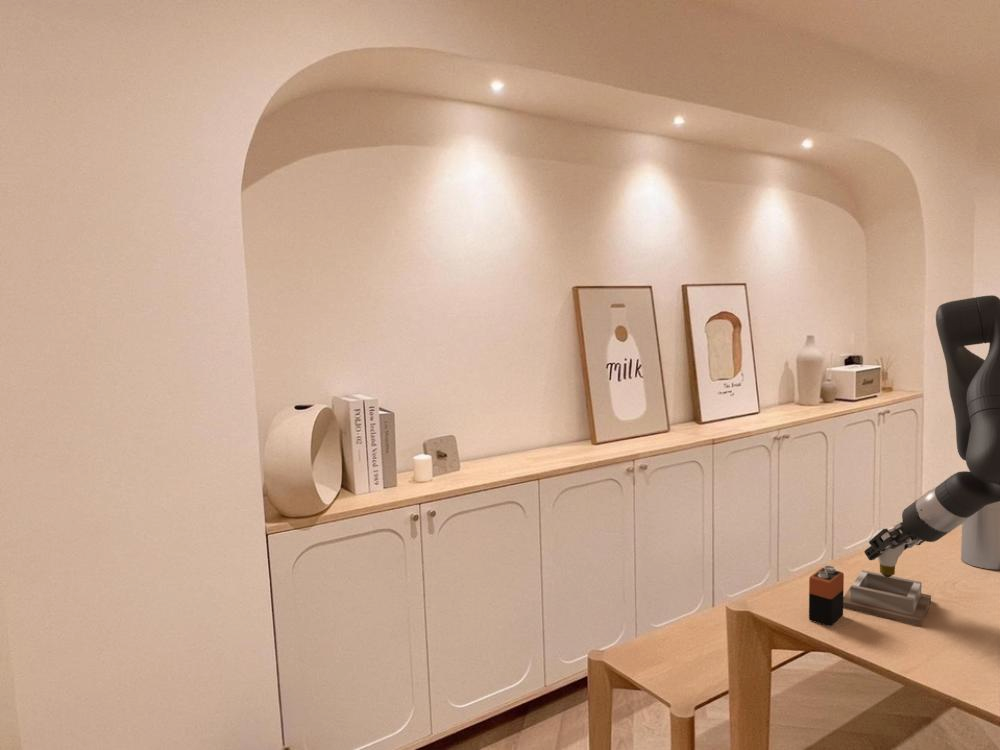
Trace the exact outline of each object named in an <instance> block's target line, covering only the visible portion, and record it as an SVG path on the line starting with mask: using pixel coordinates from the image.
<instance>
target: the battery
mask: <svg viewBox="0 0 1000 750" xmlns="http://www.w3.org/2000/svg"><path fill="white" fill-rule="evenodd" d="M808 580H809V581H808V619H809V621H811V622H814V621H815V622H814V623H817V622H818V624H820V623H821V625H823V624H824V626H826V627H827V626H828V627H832V626H833V625H834V624H835V623H836V622H837V621H838V620H840V619H841V618H842V617H843V616H844V608H843V597H844V592H845V591H844V589H845V588H844V587H845V586H844V585H845V583H844V580H845V576H844V572H842V571H840V570H839V571H838V570H836V567H835V566H832V565H824V566H823V567H821V568H820V569H818V570H817V571H816V572H815V571H814V573H812V574H811V575H810V576H809V579H808Z"/></svg>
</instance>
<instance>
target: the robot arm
mask: <svg viewBox="0 0 1000 750" xmlns="http://www.w3.org/2000/svg"><path fill="white" fill-rule="evenodd" d="M935 324H936V325H935V326H936V331H937V335H938V338H939V341H940V345H941V348H942V353H943V357H944V360H945V365H946V374H947V383H948V390H949V396H950V399H951V404H952V409H953V414H954V419H955V436H956V440H955V441H956V449H957V453H958V455H959V457H960V458H961V459H962V460H963V461H965V463H966V466H967V469H968V470H969V471H968V470H967V471H966V470H965V471H964V470H963V471H958V472H956V473H953V474H952V475H950V476H949V477H948V478H946V479H945V480H944V481H942V482H941V483H939V485H937V486H935V487H933V488H932V489H930V490H928V491H927V492H925V493H924V494H923V495H922V496H920V497H919V498H917V499H916V500H914V502H912V503H911V504H910V505H908V506H906V508H904V509H903V511H902V513H901V518H902V519H901V520H902V521H901V522H898V523H896V524H894V527H893V528H882V529H883V530H882V531H881V532H879V533H878V534H877V535H876V536H875V537H874V538H873V539H872V538H871V539H870V540H869V541H868V543H869V545H870V546H869V547H868V548H866V549H865V550H864V551H863V552H864V554H865V556H866V557H867V559H868V560H869V561H875V560H876V559H878V557H879V556H880V555H881V554H883V553H885V552H886V551H888V550H890V549H898V548H900V547H901V546H903V545H905V548H904V551H905V550H907V549H912V548H913V547H915V546H920V545H922V544H923V543H925V542H927V543H934V542H937V541H939V540H940V539H941V538H943V537H945V536H946V535H947V534H949V533H950V532H952V531H953V530H955V529H956V528H958V527H959V526H961V541H960V542H961V544H960V545H961V546H960V560H961V561H962V562H963V563H965V564H968V565H969V566H972V567H973V566H974V567H977V568H982V569H987V570H996V571H998V570H999V571H1000V298H999V297H998V296H997V295H983V296H982V295H981V296H976V297H975V296H974V297H970V298H964V299H958V300H952V301H948V302H945V303H941V304H940V305H939V306H938V307H937V310H936V311H935ZM980 344H981V345H982V344H989V346H988V347H989V348H988V352H987V355H986V357H985V359H984V358H982V357H980V356H979V355H977V354H975V353H974V352H972V351H970V350H968V348H967V347H966V346H974V345H980ZM888 529H890V530H889V531H888ZM894 540H895V541H896V542H897V543H898V544H896V545H895V544H894V542H893V541H894Z"/></svg>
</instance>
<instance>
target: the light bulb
mask: <svg viewBox="0 0 1000 750" xmlns="http://www.w3.org/2000/svg"><path fill="white" fill-rule="evenodd" d="M883 529H884V528H881V529H878V530H877V531H875V532H874V533H873V535H872V537H871V539H873V538H874V537H875V536H876V535H877V534H878V533H879V532H881V531H882V530H883ZM887 529H888V531H889V530H890V529H891V528H887ZM893 542H894V544H895V545H896V544H898V543H897V542H896V541H895V540H894V541H893ZM904 548H905V545H903V546H901V547H900V548H898V549H890V550H888V551H886V552H885V553H883V554H881V555H880V556H879V557H877V560H878V562H879V574H883V575H884V576H885V577H890V576H894V575H895V573H896V571H895V569H896V565H897V563H898V559H899V558H900V557H901V555H902V554H903V553H904V551H905V550H904Z"/></svg>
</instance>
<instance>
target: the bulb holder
mask: <svg viewBox="0 0 1000 750" xmlns="http://www.w3.org/2000/svg"><path fill="white" fill-rule="evenodd" d="M922 583H923V582H922V581H918V580H914V579H908V578H903V577H898V576H894V575H892V576H890V577H885V576H884V575H883V574H882V573H880V572H874V571H870V570H864V569H862V570H861V572H860V573H859V574H858V576H857V577H856V579H855V580H854V582H853V583H852V585H850V587H849V588H848V590H847V592H845V594H844V595H843V609H847V610H851V611H856V612H861V613H863V614H868V615H872V616H877V617H880V618H884V619H887V620H893V621H896V622H901V623H904V624H909V625H913V626H917V627H921V626H922V624H923V621H924V619H925V616H926V615H927V611H928V609H929V606H930V605H931V601H932V595H930V594H926V593H922Z"/></svg>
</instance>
